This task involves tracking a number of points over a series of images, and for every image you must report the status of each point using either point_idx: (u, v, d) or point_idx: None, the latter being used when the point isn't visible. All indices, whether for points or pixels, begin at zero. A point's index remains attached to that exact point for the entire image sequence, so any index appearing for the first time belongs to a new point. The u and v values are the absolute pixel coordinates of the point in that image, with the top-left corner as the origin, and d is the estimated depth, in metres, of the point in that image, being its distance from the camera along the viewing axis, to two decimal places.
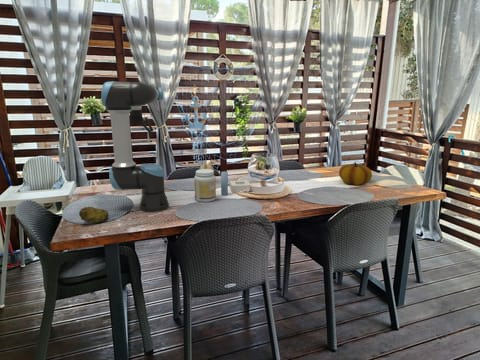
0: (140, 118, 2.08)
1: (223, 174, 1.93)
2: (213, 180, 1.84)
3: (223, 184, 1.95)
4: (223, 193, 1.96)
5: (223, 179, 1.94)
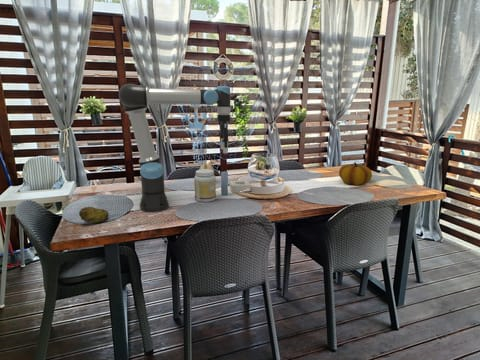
0: (222, 124, 1.84)
1: (223, 174, 1.93)
2: (213, 180, 1.84)
3: (223, 184, 1.95)
4: (223, 193, 1.96)
5: (223, 179, 1.94)
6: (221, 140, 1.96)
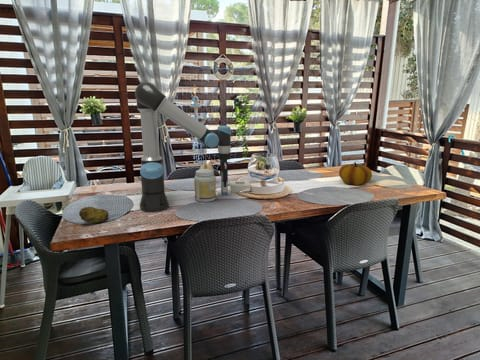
0: (223, 162, 1.90)
1: None
2: (213, 180, 1.84)
3: None
4: (223, 193, 1.96)
5: None
6: None
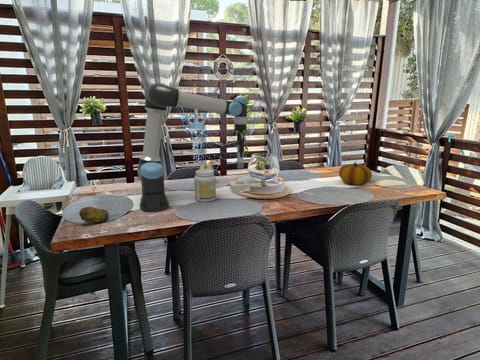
0: (239, 133, 1.96)
1: None
2: (213, 180, 1.84)
3: None
4: (239, 166, 2.03)
5: None
6: None
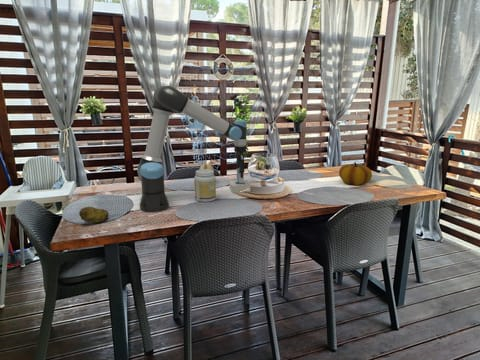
0: (239, 155, 2.00)
1: (239, 170, 2.03)
2: (213, 180, 1.84)
3: None
4: None
5: None
6: None
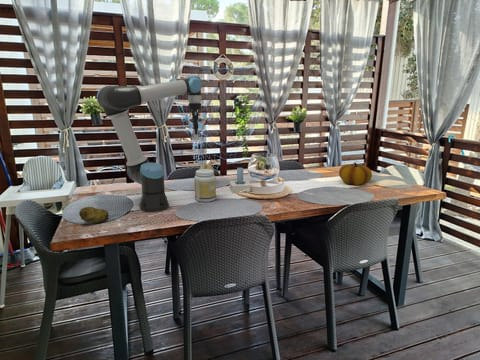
0: (193, 112, 1.93)
1: (239, 170, 2.03)
2: (213, 180, 1.84)
3: (239, 179, 2.05)
4: None
5: (239, 175, 2.04)
6: None
